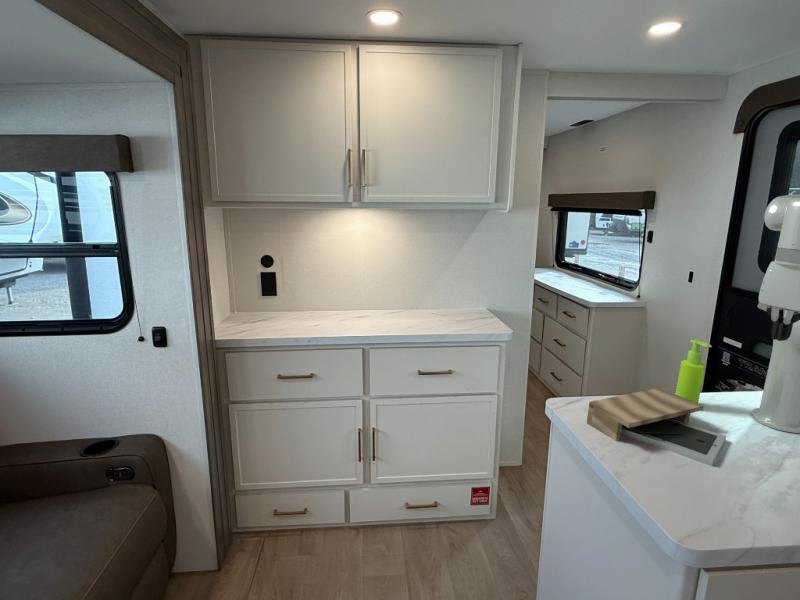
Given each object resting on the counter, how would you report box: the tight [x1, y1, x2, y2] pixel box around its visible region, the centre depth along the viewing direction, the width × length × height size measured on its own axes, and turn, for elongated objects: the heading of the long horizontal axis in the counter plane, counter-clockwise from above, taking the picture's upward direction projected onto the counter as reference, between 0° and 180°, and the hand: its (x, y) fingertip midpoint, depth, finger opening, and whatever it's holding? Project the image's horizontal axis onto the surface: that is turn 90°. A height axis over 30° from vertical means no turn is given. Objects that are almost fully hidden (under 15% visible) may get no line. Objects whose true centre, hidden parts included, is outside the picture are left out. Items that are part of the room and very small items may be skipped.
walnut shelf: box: [586, 387, 704, 442], centre depth 121 cm, size 27×12×6 cm, turn 113°
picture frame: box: [621, 418, 727, 467], centre depth 116 cm, size 16×3×21 cm
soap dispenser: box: [675, 339, 713, 404], centre depth 131 cm, size 6×7×20 cm
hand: (779, 339), depth 101 cm, fingers closed
